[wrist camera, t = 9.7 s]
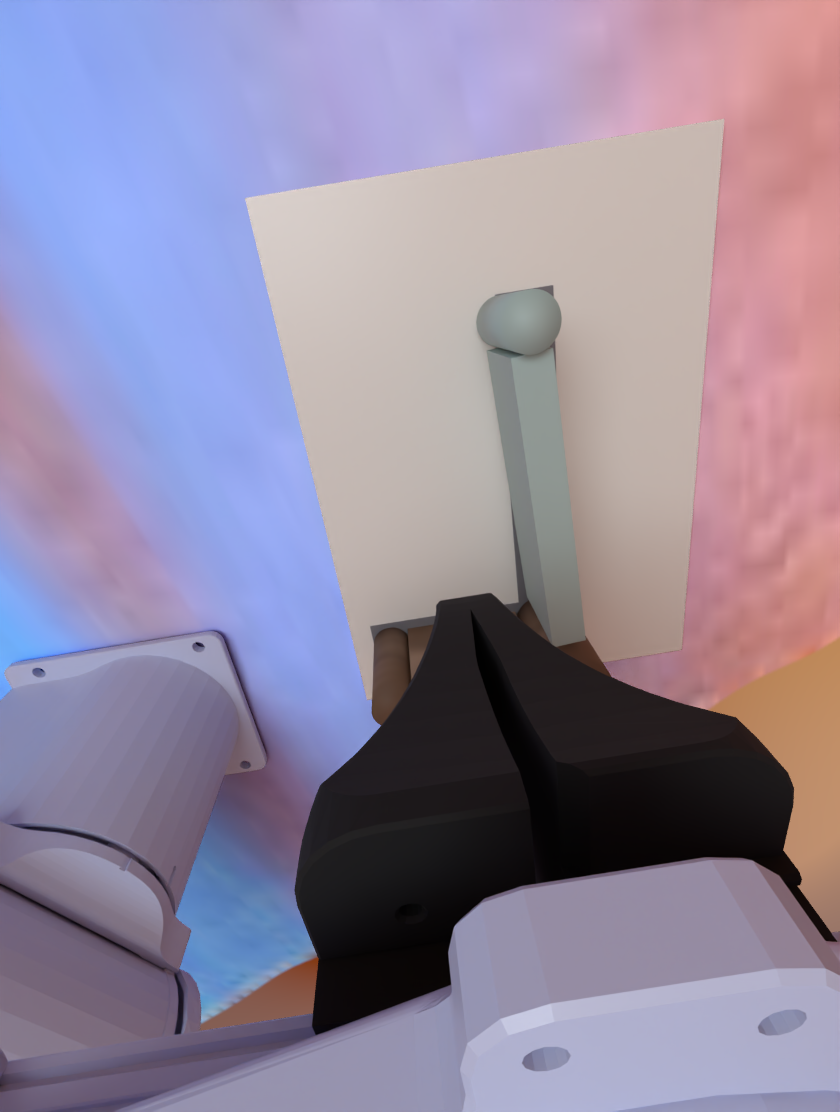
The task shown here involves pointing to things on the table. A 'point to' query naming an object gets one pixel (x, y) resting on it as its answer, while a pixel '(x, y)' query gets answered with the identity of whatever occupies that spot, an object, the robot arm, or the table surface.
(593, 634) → the card
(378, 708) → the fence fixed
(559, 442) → the fence panel
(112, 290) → the table surface
